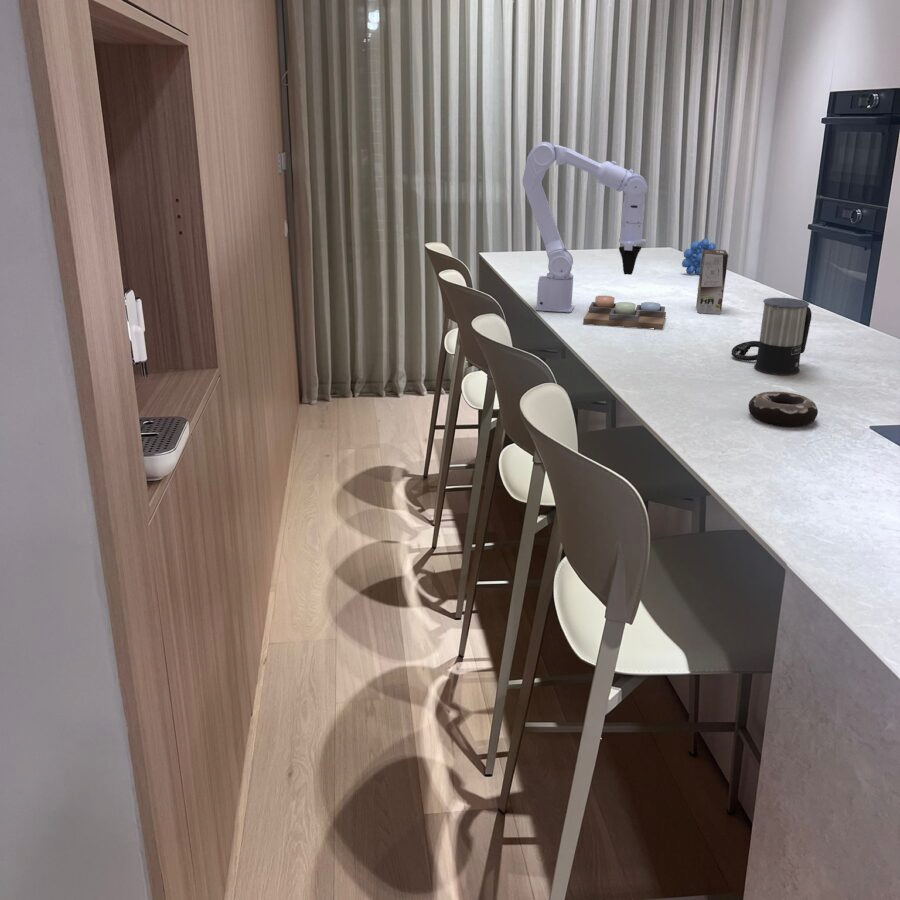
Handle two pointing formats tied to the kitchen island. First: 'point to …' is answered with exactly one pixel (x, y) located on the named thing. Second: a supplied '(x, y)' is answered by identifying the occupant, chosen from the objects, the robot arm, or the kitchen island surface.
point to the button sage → (625, 308)
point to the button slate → (650, 306)
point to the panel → (625, 317)
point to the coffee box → (711, 281)
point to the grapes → (696, 255)
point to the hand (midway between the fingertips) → (628, 274)
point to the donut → (783, 409)
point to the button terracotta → (604, 301)
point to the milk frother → (779, 337)
